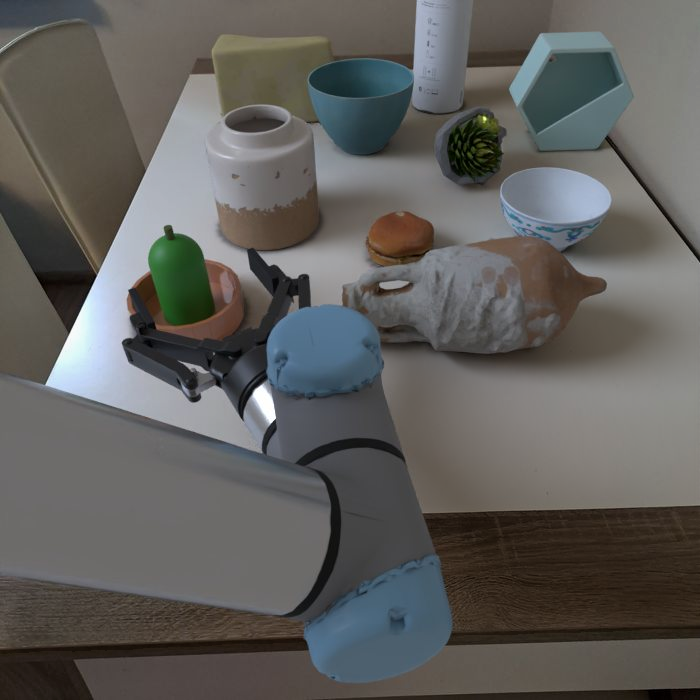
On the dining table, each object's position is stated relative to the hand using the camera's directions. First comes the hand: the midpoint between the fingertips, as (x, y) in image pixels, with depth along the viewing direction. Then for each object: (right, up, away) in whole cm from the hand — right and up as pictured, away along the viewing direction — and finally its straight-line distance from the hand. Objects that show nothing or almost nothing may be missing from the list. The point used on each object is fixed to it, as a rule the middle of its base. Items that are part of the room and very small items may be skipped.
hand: (194, 277), depth 71 cm
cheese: (+4, +37, +56) cm, 68 cm away
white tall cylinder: (+35, +42, +60) cm, 80 cm away
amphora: (+32, -6, +9) cm, 34 cm away
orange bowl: (-4, -4, +13) cm, 14 cm away
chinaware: (+46, +8, +24) cm, 52 cm away
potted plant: (+38, +20, +37) cm, 57 cm away
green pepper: (-4, -3, +13) cm, 14 cm away
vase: (+5, +12, +29) cm, 32 cm away
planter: (+55, +30, +47) cm, 78 cm away
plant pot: (+19, +30, +48) cm, 59 cm away
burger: (+24, +6, +23) cm, 34 cm away
